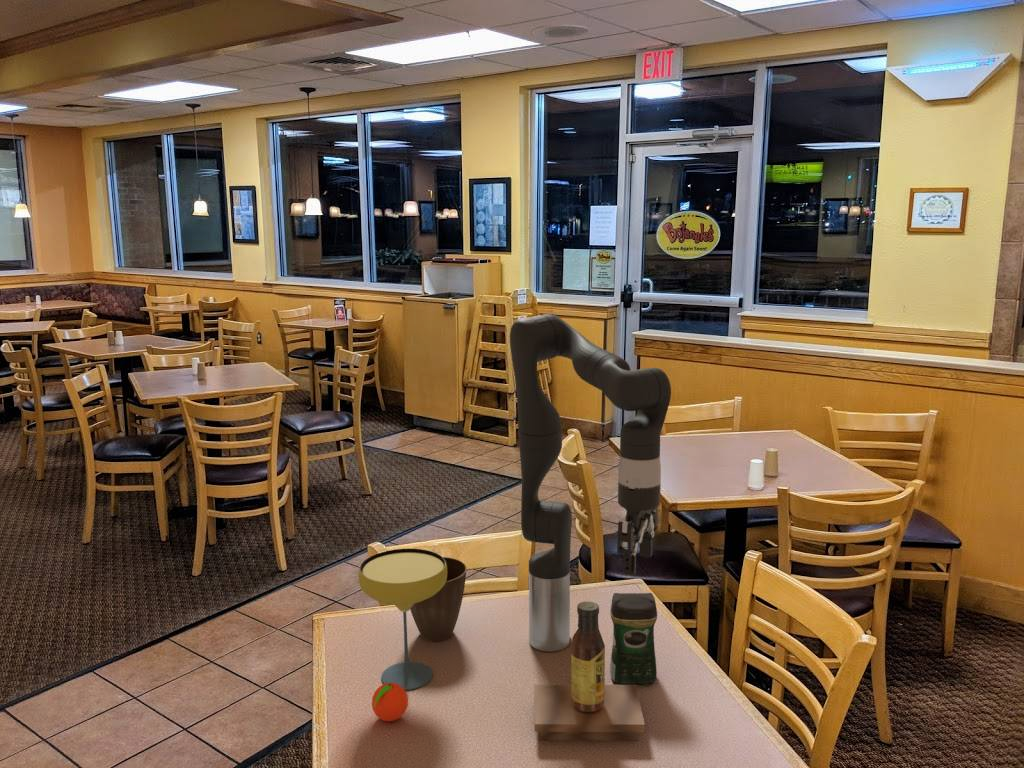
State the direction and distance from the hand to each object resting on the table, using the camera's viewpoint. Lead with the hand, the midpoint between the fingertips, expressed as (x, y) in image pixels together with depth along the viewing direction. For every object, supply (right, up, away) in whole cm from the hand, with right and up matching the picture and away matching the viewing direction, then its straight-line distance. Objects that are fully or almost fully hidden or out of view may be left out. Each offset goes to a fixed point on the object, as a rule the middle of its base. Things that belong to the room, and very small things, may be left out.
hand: (637, 564), depth 147 cm
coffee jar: (+2, -29, +22) cm, 36 cm away
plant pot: (-41, -25, +41) cm, 63 cm away
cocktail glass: (-45, -29, +23) cm, 58 cm away
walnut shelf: (-9, -32, +6) cm, 33 cm away
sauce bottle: (-9, -28, +5) cm, 30 cm away
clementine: (-47, -32, +8) cm, 57 cm away
